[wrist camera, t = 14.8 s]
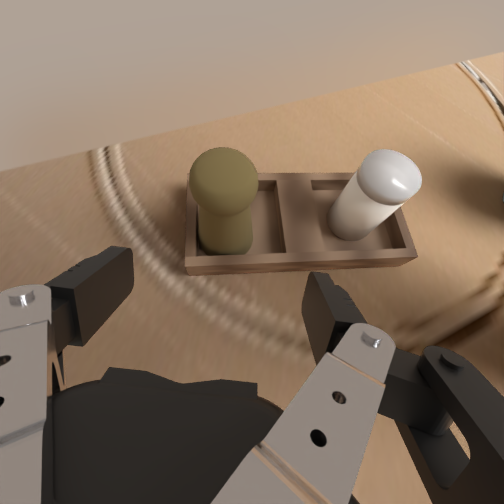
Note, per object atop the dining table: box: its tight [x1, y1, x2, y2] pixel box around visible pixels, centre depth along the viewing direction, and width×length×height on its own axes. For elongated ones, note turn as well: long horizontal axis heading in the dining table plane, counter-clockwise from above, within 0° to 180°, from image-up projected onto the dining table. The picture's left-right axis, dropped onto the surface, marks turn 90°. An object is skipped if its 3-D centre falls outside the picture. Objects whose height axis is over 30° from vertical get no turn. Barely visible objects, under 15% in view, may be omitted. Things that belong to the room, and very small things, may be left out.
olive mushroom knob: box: [189, 147, 259, 256], centre depth 22 cm, size 6×6×11 cm
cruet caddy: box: [185, 173, 418, 276], centre depth 28 cm, size 24×11×3 cm, turn 94°
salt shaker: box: [327, 149, 422, 241], centre depth 25 cm, size 5×5×9 cm
